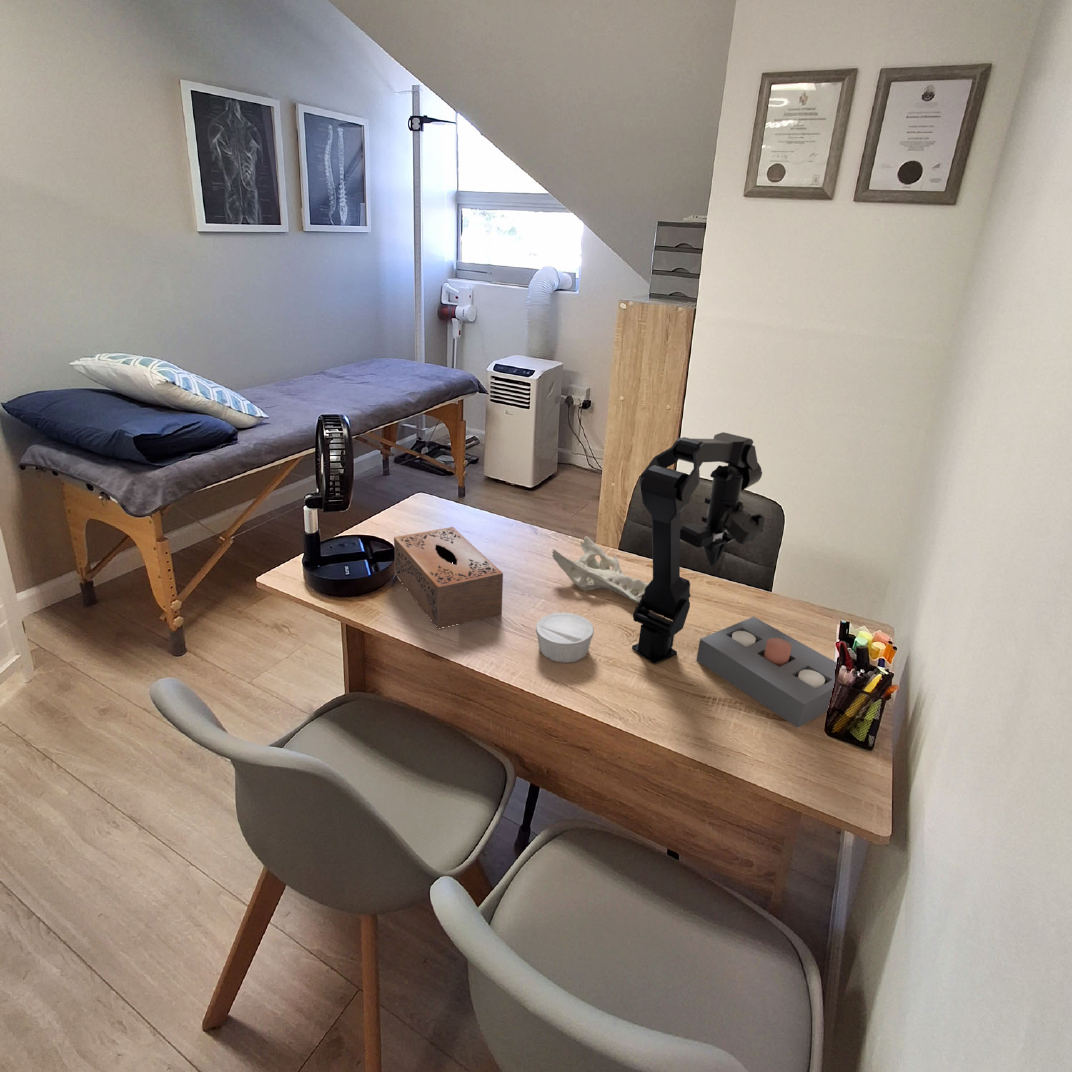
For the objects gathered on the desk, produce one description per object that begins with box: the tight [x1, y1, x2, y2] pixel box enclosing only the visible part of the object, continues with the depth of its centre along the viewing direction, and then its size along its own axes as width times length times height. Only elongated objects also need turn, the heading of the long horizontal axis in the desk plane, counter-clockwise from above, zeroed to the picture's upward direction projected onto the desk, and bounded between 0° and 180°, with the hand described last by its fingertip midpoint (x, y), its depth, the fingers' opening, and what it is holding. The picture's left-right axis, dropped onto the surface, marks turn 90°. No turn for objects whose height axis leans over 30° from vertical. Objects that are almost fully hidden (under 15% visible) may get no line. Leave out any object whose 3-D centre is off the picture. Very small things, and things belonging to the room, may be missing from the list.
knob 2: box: [797, 670, 825, 689], centre depth 121 cm, size 4×4×4 cm
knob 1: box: [732, 631, 756, 647], centre depth 132 cm, size 4×4×4 cm
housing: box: [696, 616, 838, 729], centre depth 127 cm, size 16×23×5 cm
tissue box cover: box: [393, 526, 504, 630], centre depth 149 cm, size 26×14×10 cm, turn 30°
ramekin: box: [535, 612, 595, 664], centre depth 132 cm, size 11×11×5 cm
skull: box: [551, 535, 651, 604], centre depth 155 cm, size 12×8×25 cm
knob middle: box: [762, 638, 792, 667], centre depth 126 cm, size 4×4×4 cm
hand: (712, 564), depth 143 cm, fingers closed
